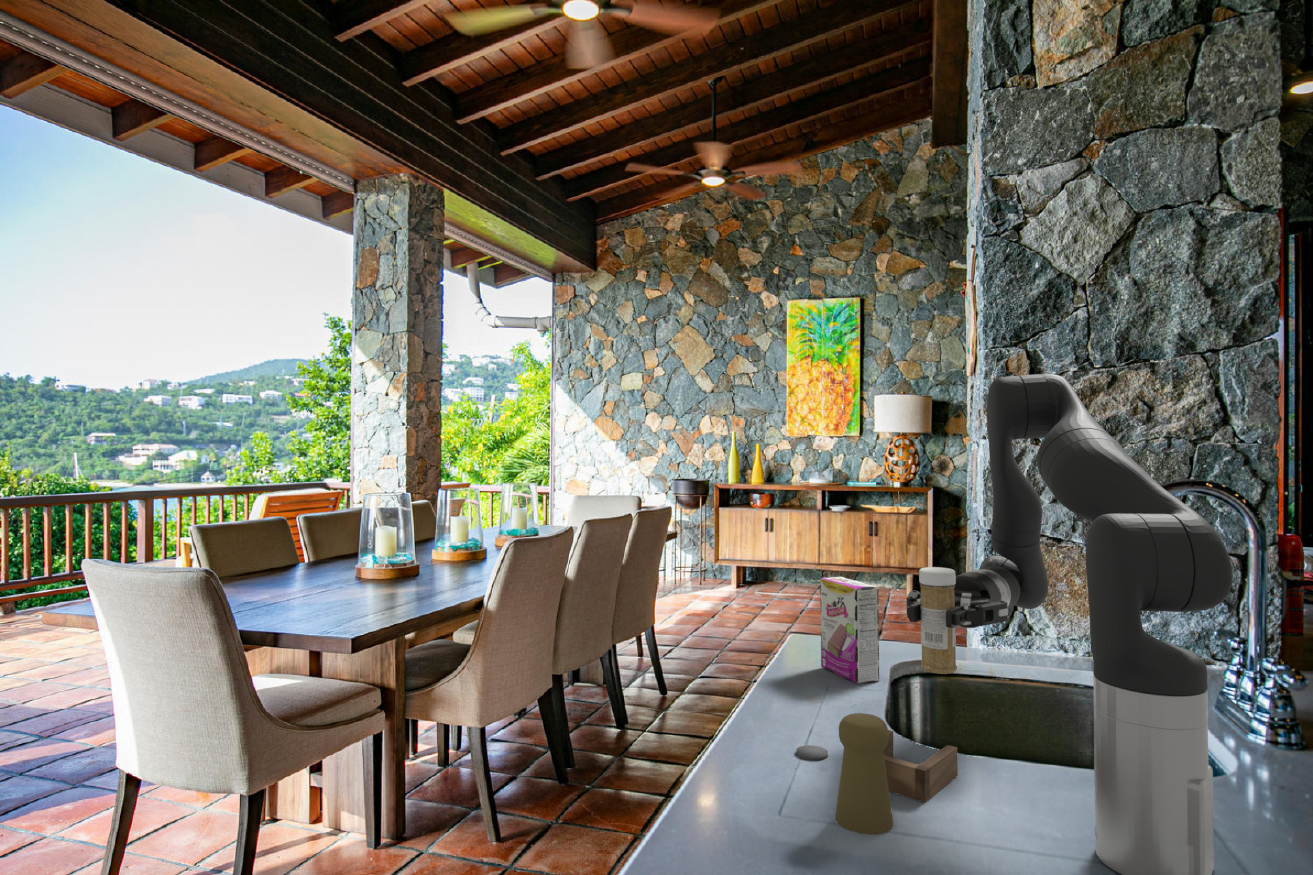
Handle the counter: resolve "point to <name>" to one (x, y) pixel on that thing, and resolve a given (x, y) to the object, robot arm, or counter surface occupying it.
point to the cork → (864, 776)
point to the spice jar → (937, 620)
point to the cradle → (920, 773)
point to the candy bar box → (850, 629)
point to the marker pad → (812, 752)
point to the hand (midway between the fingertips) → (930, 616)
